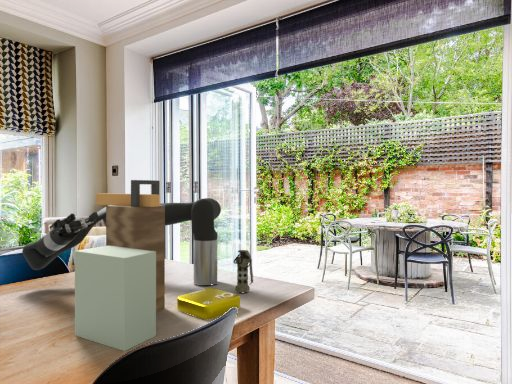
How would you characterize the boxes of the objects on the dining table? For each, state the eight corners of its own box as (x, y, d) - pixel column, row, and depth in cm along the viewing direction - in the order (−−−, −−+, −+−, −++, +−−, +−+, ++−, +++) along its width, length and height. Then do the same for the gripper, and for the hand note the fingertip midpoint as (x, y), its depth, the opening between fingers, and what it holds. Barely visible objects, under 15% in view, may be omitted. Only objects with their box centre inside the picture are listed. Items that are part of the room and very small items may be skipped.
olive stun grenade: (230, 294, 130) (231, 251, 130) (240, 289, 137) (241, 248, 136) (246, 296, 127) (246, 253, 127) (256, 291, 134) (256, 250, 133)
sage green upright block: (74, 335, 94) (74, 250, 93) (107, 322, 102) (107, 245, 102) (124, 351, 85) (124, 258, 85) (155, 335, 94) (156, 251, 93)
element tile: (209, 299, 126) (209, 285, 125) (242, 309, 116) (242, 293, 116) (174, 310, 114) (174, 295, 114) (207, 322, 104) (207, 305, 104)
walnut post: (106, 312, 110) (106, 205, 110) (137, 302, 121) (137, 204, 120) (134, 320, 104) (134, 207, 104) (164, 308, 115) (164, 205, 114)
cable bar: (96, 204, 118) (96, 193, 118) (105, 203, 121) (105, 193, 121) (151, 206, 107) (151, 194, 107) (159, 206, 110) (159, 194, 110)
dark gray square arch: (130, 206, 107) (130, 180, 106) (154, 205, 115) (154, 180, 115) (135, 207, 106) (135, 180, 105) (159, 205, 114) (159, 180, 114)
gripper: (36, 228, 125) (62, 206, 118) (75, 224, 138) (100, 204, 131) (43, 248, 124) (69, 227, 117) (81, 243, 136) (107, 223, 129)
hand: (85, 215), depth 124 cm, fingers open, 8 cm apart
